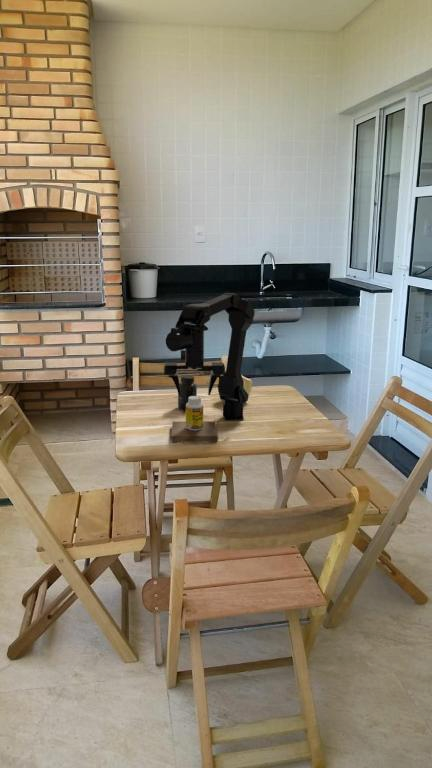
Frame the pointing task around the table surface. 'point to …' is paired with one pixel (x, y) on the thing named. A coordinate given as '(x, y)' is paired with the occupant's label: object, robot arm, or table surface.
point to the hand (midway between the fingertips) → (194, 395)
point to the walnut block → (194, 432)
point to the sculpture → (246, 385)
